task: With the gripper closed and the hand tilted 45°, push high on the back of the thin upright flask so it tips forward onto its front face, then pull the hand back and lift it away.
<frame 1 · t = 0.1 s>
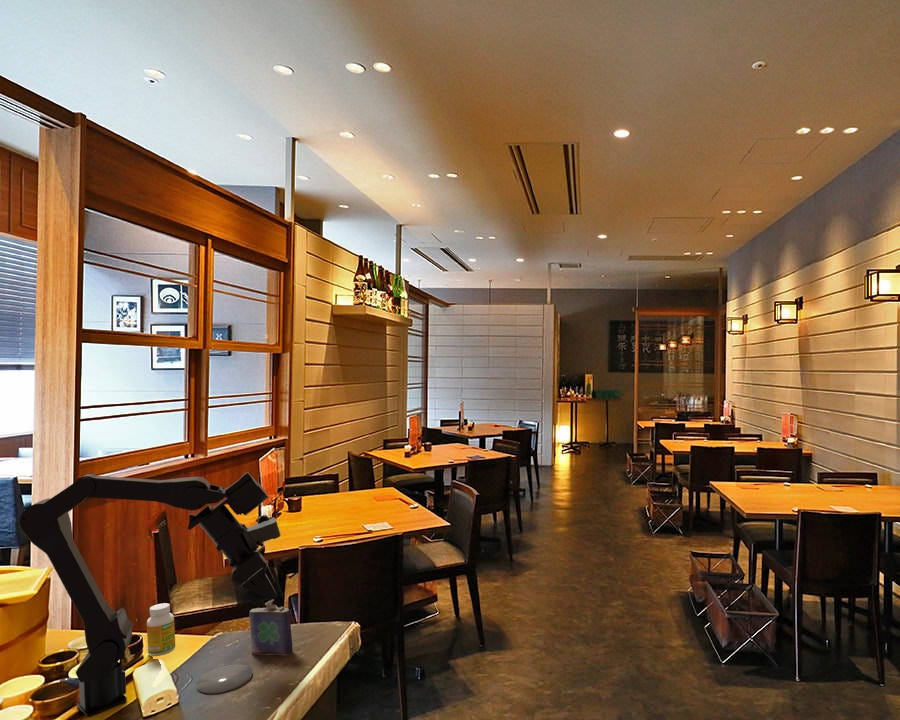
hand: (274, 590, 118), 15 cm above the table, tool tilted 35°, fingers open, 9 cm apart
flask: (272, 653, 124), on the table
supplement bottle: (162, 652, 129), on the table
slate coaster: (224, 679, 113), on the table
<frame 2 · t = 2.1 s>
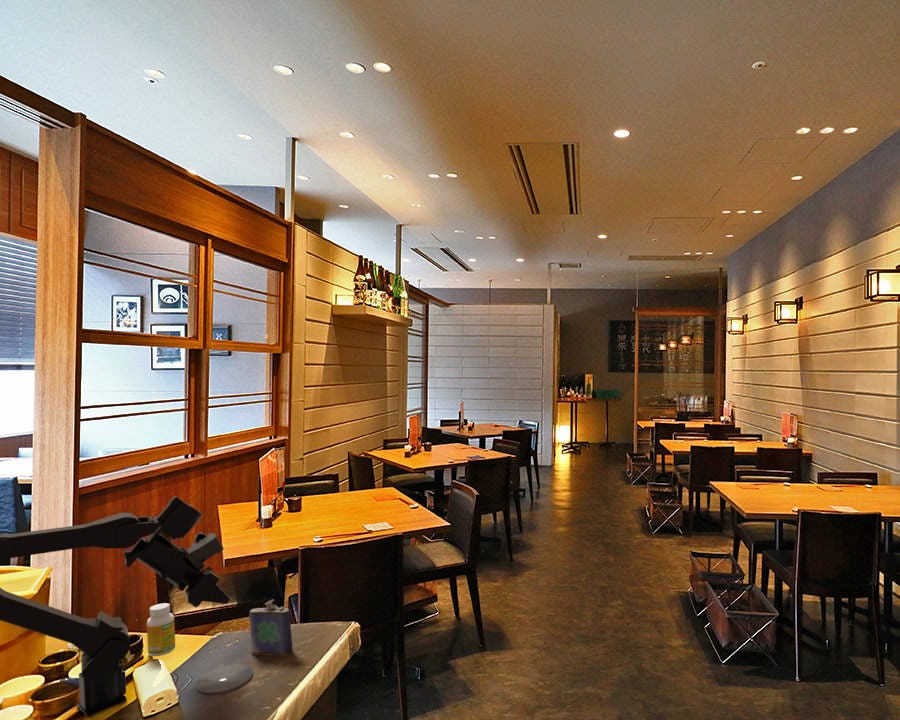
hand: (228, 601, 120), 13 cm above the table, tool tilted 45°, fingers closed
nothing on the table moved.
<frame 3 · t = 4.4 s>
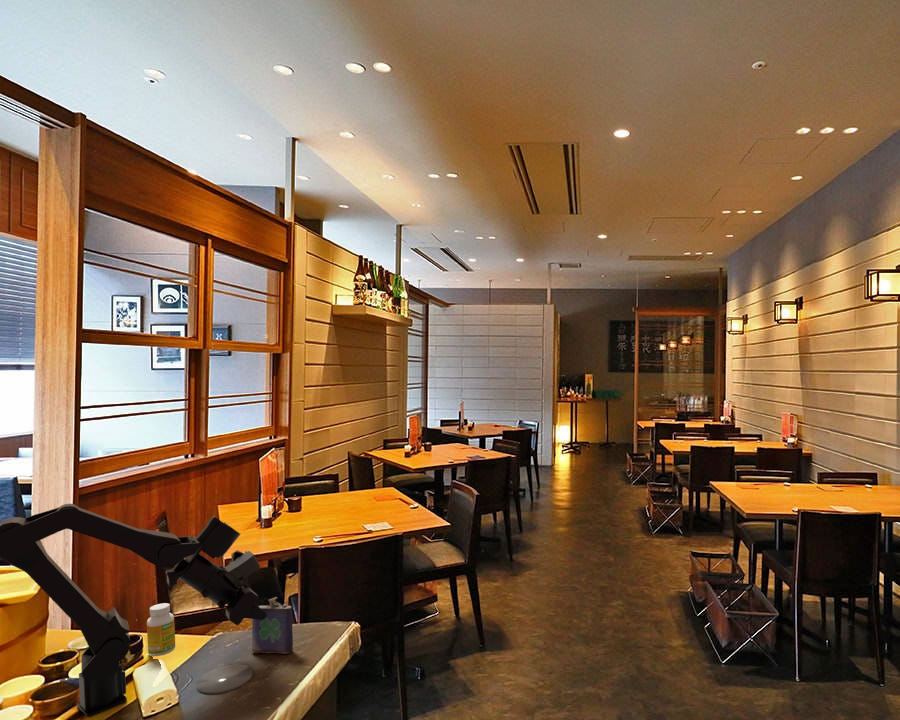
hand: (264, 617, 124), 8 cm above the table, tool tilted 45°, fingers closed
flask: (272, 652, 124), on the table, touching gripper
everything else where it was.
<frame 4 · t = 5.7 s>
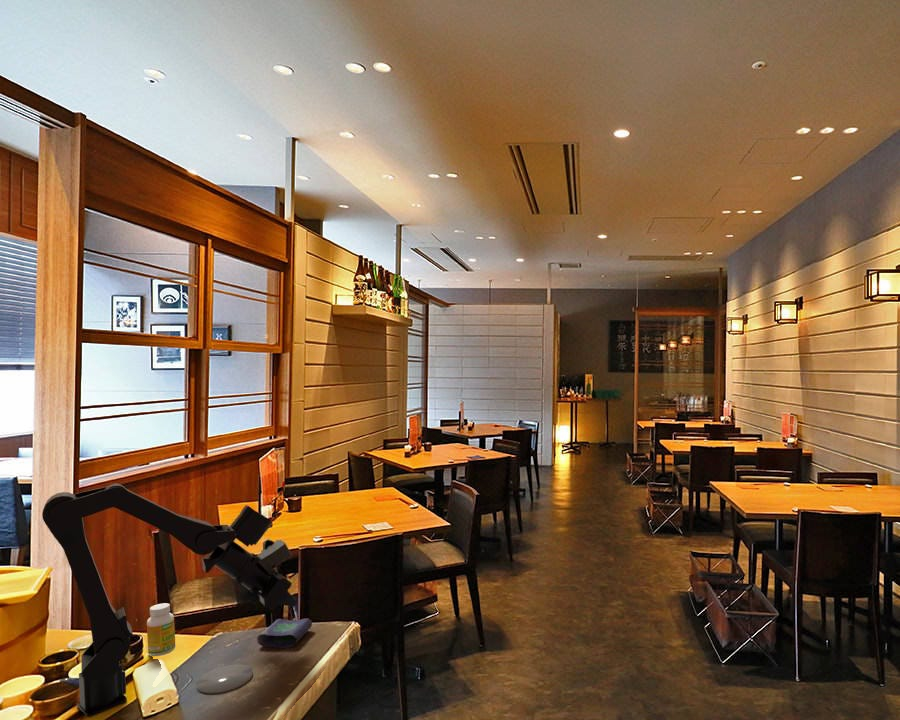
hand: (295, 604, 127), 9 cm above the table, tool tilted 45°, fingers closed
flask: (276, 641, 126), point 2 cm above the table
everything else where it was.
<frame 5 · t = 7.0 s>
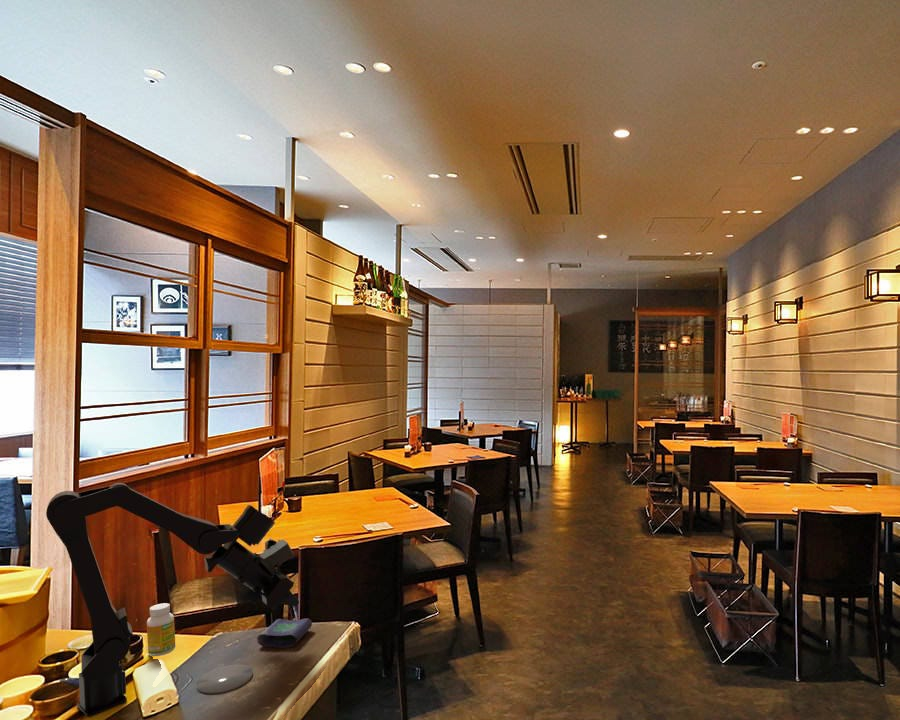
hand: (297, 603, 128), 9 cm above the table, tool tilted 45°, fingers closed
nothing on the table moved.
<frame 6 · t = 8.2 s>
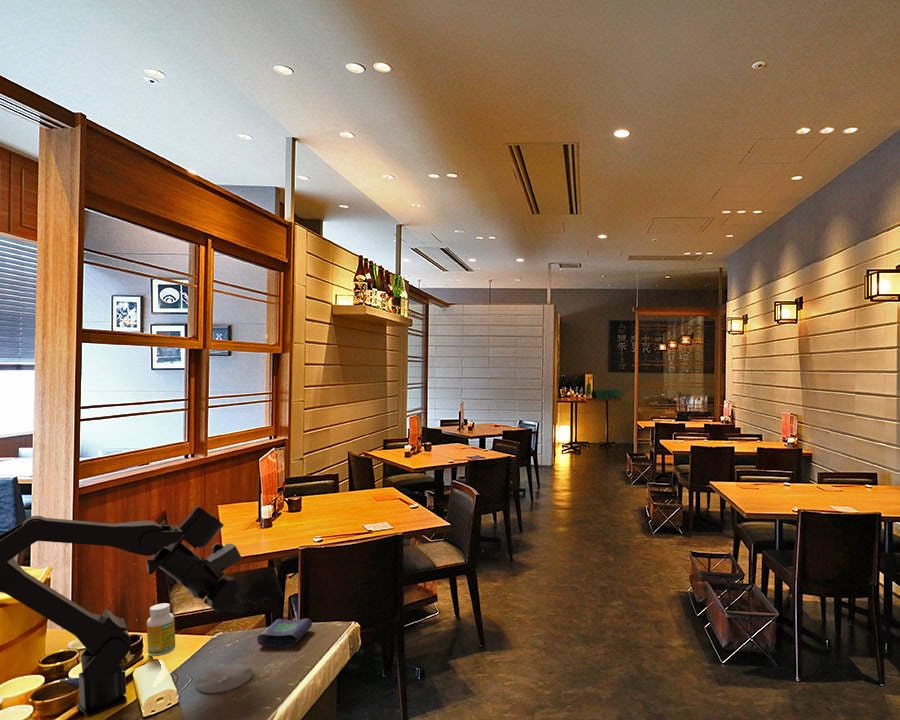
hand: (243, 611, 122), 10 cm above the table, tool tilted 40°, fingers closed
nothing on the table moved.
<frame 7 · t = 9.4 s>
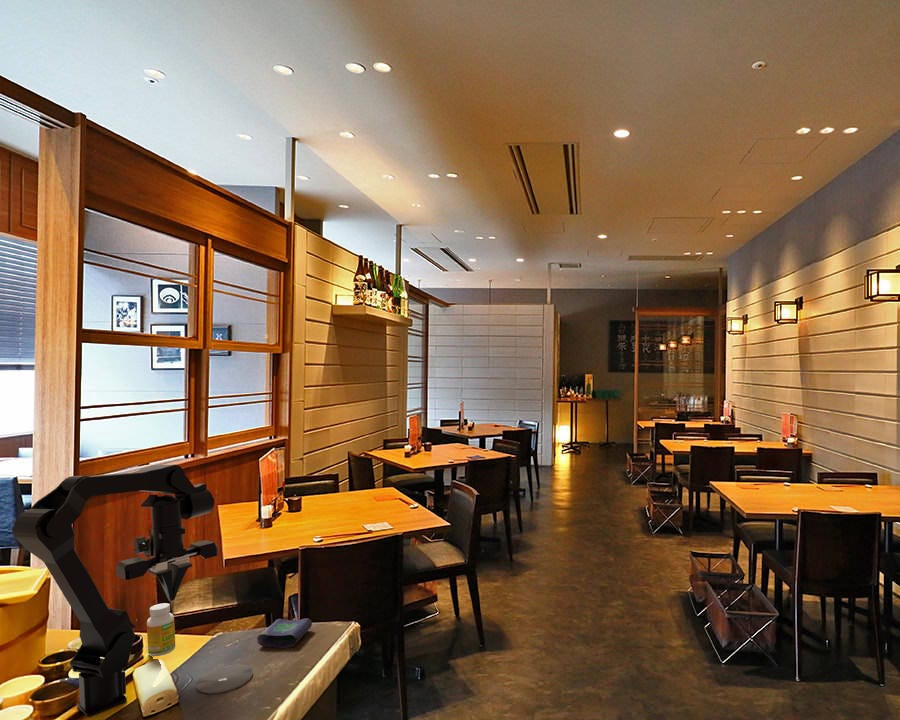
hand: (171, 600, 122), 13 cm above the table, tool pointing down, fingers closed
nothing on the table moved.
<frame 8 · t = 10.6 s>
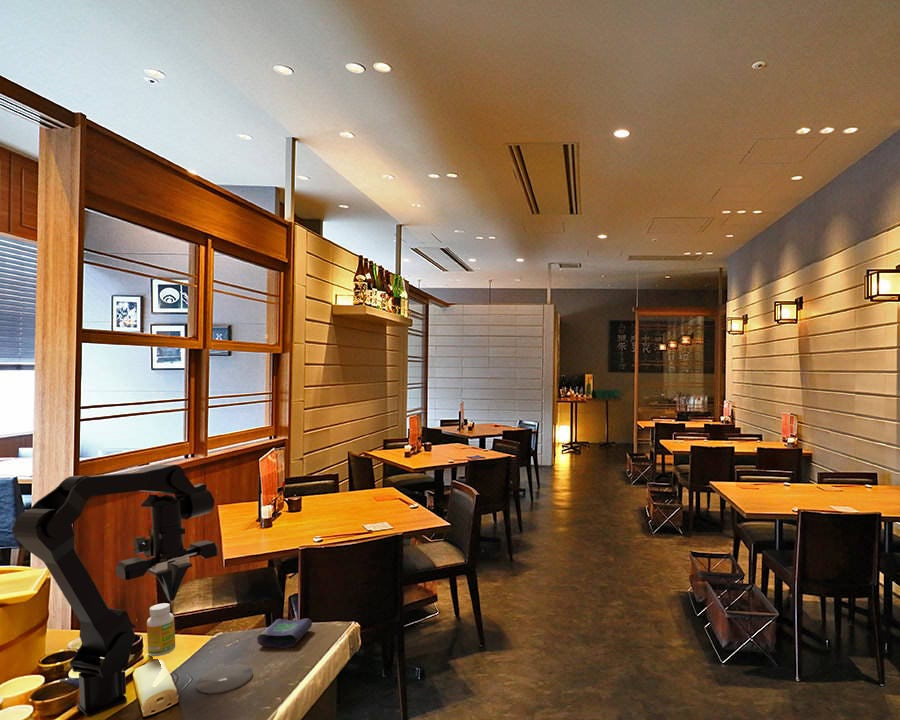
hand: (171, 600, 122), 13 cm above the table, tool pointing down, fingers closed
nothing on the table moved.
at the end: flask tilted 90°; flask inside the target area (2.2 cm from its centre), point 1.5 cm above the table; the gripper is holding nothing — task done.
